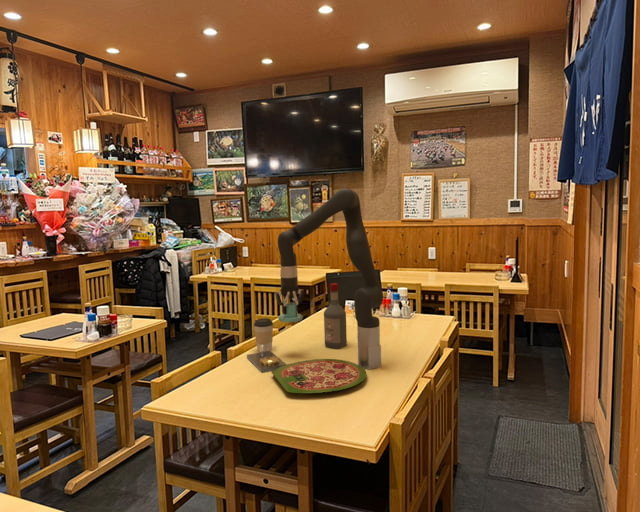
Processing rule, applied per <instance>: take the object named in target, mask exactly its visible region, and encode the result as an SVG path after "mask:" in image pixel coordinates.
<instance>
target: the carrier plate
mask: <svg viewBox="0 0 640 512" xmlns="http://www.w3.org/2000/svg"><path fill="white" fill-rule="evenodd" d="M273 356H275V357H276V358H279V357H278V356H277V354H274V352H272V351H266V352H264V345H260V352H256V353H250V354H246V359H248V361H249V362H250V363H252V365H253V366H255V368H256V369H258V370H259V372H260V371H261V372H263V373H267V372H272V371H273V370H274V369H277V368H279V367H281V366H284V365H287V364H288V363H285V362H284V361H283V360H282V359H281V358H279V361H280V362H279V364H276V365H274V366H264V365H260V359H261V358H265V357H273ZM261 372H260V373H261Z"/></svg>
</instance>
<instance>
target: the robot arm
mask: <svg viewBox="0 0 640 512" xmlns="http://www.w3.org/2000/svg"><path fill="white" fill-rule="evenodd" d="M340 212H342V214H343V217H344V220H345V227H346V229H345V230H346V231H345V240H346V241H345V243H346V248H347V250H346V251H347V253H348V258H349V260H350V262H351V263H352V265H353V266H354V267H355V268H356V269H357V271H358V272H359V273H360V274H359V275H361V277H362V280H363V283H364V287H360V288H359V289H358V288H357V290H356V291H355V293H354V296H353V298H354V299H353V302H354V303H353V305H354V315H355V316H354V317H355V320H356V325H357V364H358V365H359V366H361V367H363V368H364V369H367V370H373V369H378V368H382V345H381V339H380V338H381V337H380V336H381V335H380V333H381V332H380V331H381V329H380V325H381V324H380V323H381V322H380V318H379V317H377V316H374V315H373V311H372V310H373V309H376V308H379V307H381V306H382V304H383V301H384V295H383V291H382V287H381V284H380V281H379V279H378V276H377V272H376V268H375V265H374V261H373V257H372V252H371V248H370V243H369V239H368V236H367V232H366V228H365V226H364V222H363V217H362V208H361V201H360V197H359V195H358V194H357V192H356V191H355V190H352V189H350V188H346V187H345V188H341V189H339V190H337V191H336V192H335V193H334V194H333V195H332V196H331V197H330V198H329V199H328V200H327V201H325V202H324V203H323V204H322V205H321V206H319V207H318V208H317V209H315V210H313V212H311V213H310V214H308V215H307V216H306V217H304V218H302V219H301V220H299V222H297V223H296V224H295V225H294V226H293V227H291V228H290V229H287V230H285V231H282V232H280V233H279V235H278V237H277V247H278V253H279V255H280V290H279V291H274V297H275V299H276V301H277V302H276V303H277V304H278V305H279V306H281V309H282V314H287V310H286V303H288V300H289V299H292V301H293V303H295V304H296V306H297V313H298V312H299V304H302V303H303V299H304V296H305V289H302V288H299V286H298V285H299V284H298V283H299V279H298V277H299V276H298V275H299V274H298V267H297V254H296V253H295V251H294V246H295V245H296V244H298V243H299V242H300V241H302V240H303V239H304V238H305V237H308V236H309V235H310V234H312V233H314V232H315V231H317V230H318V229H319V228H320V227H321V226H323V225H324V223H325V222H326V221H327V220H329V218H331V217H333V216H334V215H336V214H338V213H340ZM297 294H298V297H297ZM281 295H282V299H281Z"/></svg>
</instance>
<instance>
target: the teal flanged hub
mask: <svg viewBox="0 0 640 512" xmlns="http://www.w3.org/2000/svg"><path fill="white" fill-rule="evenodd" d="M286 310H287V314H284V313H282V314H280V315H279V316H277V317H278V321H280V322H281V323H296V322H300V321H302V320H303V319H304V318H303V315H302V314H300V313H298V312H297V306H296V304H295V303H294V302H287V303H286Z"/></svg>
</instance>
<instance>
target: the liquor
mask: <svg viewBox="0 0 640 512" xmlns="http://www.w3.org/2000/svg"><path fill="white" fill-rule="evenodd" d="M329 290H330V303H329V305H328V306H327V307H326V308H325V310H324V311H323V322H324V323H323V327H324V328H323V330H324V331H323V334H324V345H325V347H326V348H327V349H334V350H340V349H342V348H344V347H347V345H348V343H347V342H348V341H347V338H348V337H347V335H348V334H347V312H346V310H345V309H344V308H343V307H342V306H341V305H340V302H339V284H338V283H336V282H335V283H333V282H332V283H330V284H329Z"/></svg>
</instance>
